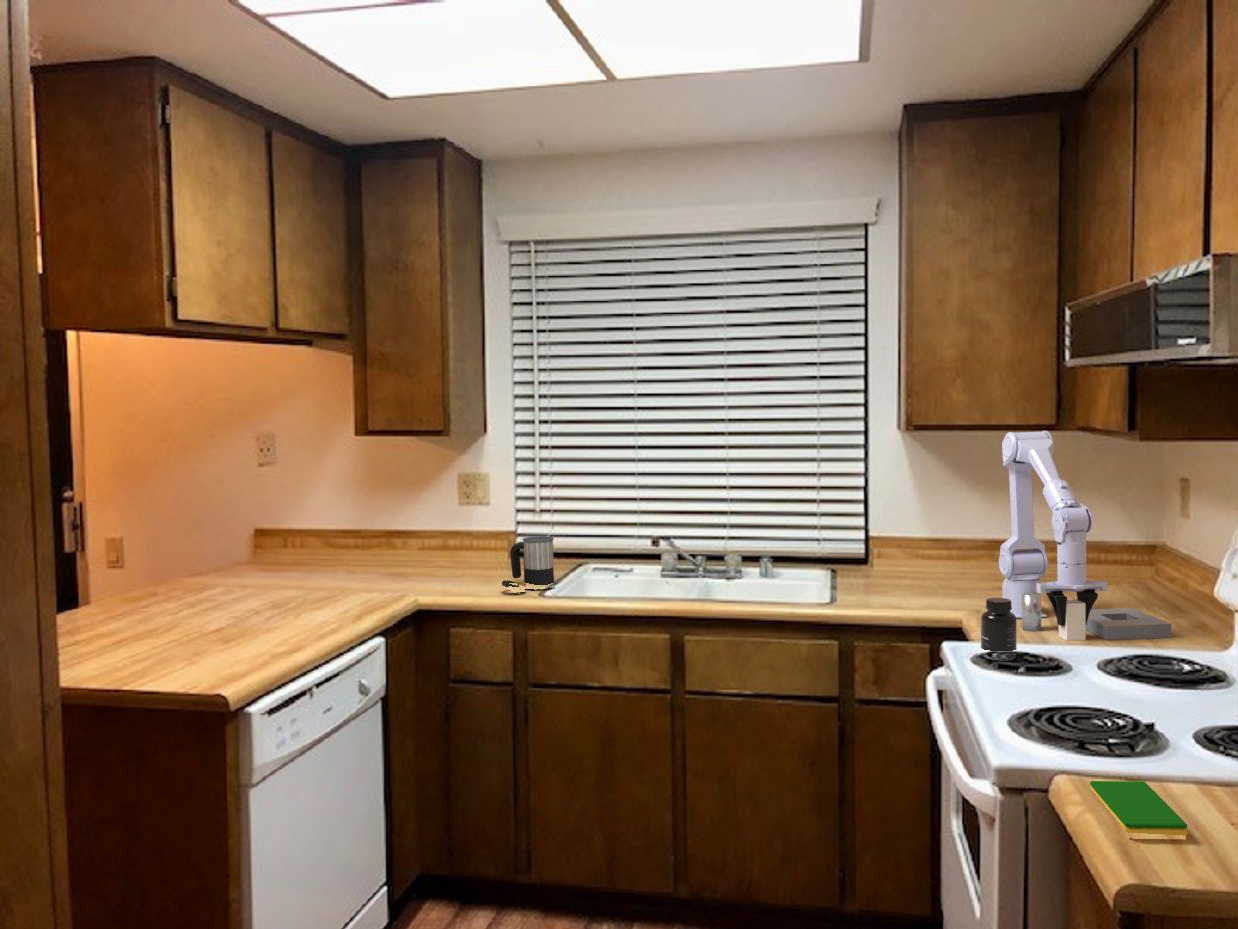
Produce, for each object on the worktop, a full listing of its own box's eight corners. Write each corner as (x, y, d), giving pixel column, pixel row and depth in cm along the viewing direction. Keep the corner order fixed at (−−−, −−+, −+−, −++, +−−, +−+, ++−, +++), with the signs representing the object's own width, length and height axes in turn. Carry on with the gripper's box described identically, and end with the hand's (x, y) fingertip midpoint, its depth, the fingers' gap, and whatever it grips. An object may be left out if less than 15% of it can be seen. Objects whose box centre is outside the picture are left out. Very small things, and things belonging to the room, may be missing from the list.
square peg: (1058, 636, 222) (1058, 600, 222) (1076, 635, 222) (1076, 599, 222) (1067, 640, 218) (1066, 604, 218) (1085, 640, 218) (1085, 603, 218)
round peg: (1019, 627, 231) (1018, 592, 231) (1036, 627, 231) (1036, 592, 231) (1026, 631, 227) (1026, 596, 227) (1044, 631, 227) (1044, 595, 227)
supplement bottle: (974, 658, 207) (974, 600, 206) (990, 651, 212) (989, 594, 211) (1007, 664, 202) (1007, 604, 201) (1022, 657, 207) (1022, 598, 206)
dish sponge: (1144, 798, 138) (1144, 780, 137) (1188, 844, 124) (1188, 824, 124) (1089, 797, 138) (1089, 780, 138) (1126, 843, 125) (1126, 824, 125)
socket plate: (1071, 623, 233) (1071, 610, 233) (1132, 620, 234) (1132, 607, 233) (1106, 640, 217) (1106, 626, 217) (1171, 637, 218) (1171, 623, 217)
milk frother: (558, 585, 303) (556, 535, 302) (547, 595, 288) (545, 543, 287) (512, 585, 306) (510, 536, 304) (498, 596, 290) (496, 544, 289)
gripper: (1046, 567, 215) (1046, 630, 216) (1114, 564, 215) (1114, 627, 216) (1032, 561, 222) (1032, 622, 223) (1098, 558, 222) (1098, 620, 223)
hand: (1071, 624), depth 220 cm, fingers open, 4 cm apart
